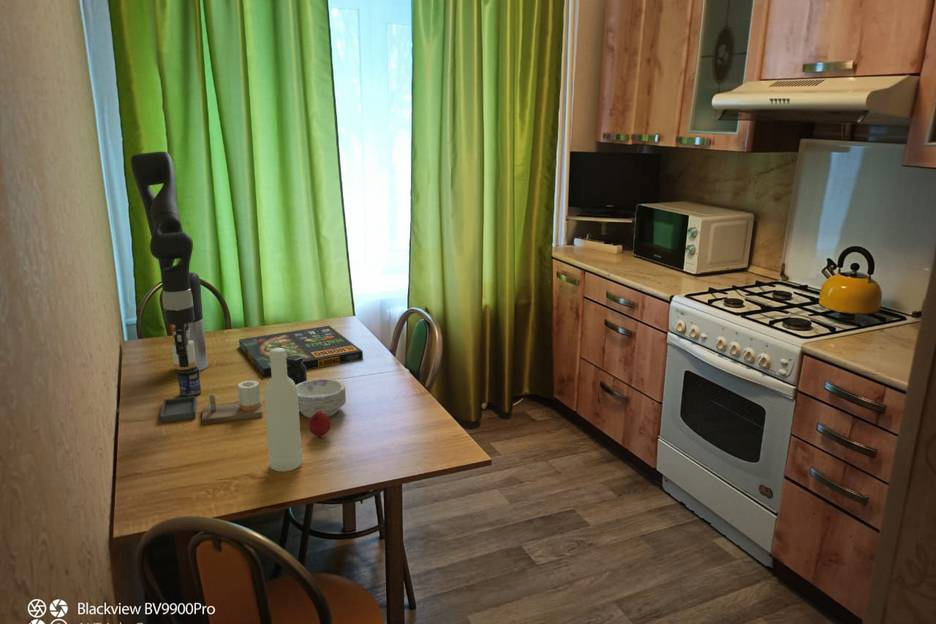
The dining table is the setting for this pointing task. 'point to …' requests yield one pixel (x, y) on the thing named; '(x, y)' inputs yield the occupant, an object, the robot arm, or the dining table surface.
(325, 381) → the paper bowls
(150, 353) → the dining table surface
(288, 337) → the pizza box
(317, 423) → the onion
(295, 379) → the supplement bottle
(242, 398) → the seated sleeve
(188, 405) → the feeder tray
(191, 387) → the pill bottle
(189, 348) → the sleeve
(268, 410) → the bottle
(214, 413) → the pin board
